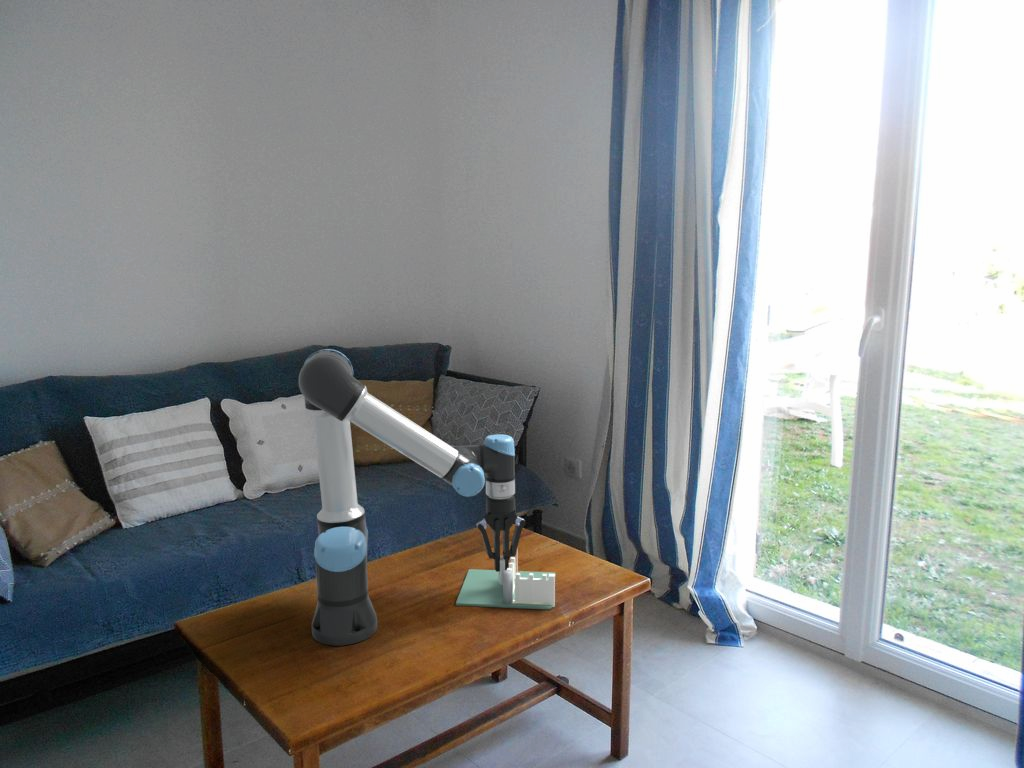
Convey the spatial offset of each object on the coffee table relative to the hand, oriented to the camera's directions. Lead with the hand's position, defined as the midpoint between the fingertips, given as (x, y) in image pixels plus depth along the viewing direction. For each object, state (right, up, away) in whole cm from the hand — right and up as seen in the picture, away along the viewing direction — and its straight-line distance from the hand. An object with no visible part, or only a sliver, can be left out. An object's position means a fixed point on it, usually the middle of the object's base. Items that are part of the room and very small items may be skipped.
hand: (501, 582), depth 196 cm
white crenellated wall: (+3, -1, 0) cm, 3 cm away
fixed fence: (+7, -4, -8) cm, 11 cm away
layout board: (+2, -2, +1) cm, 3 cm away
